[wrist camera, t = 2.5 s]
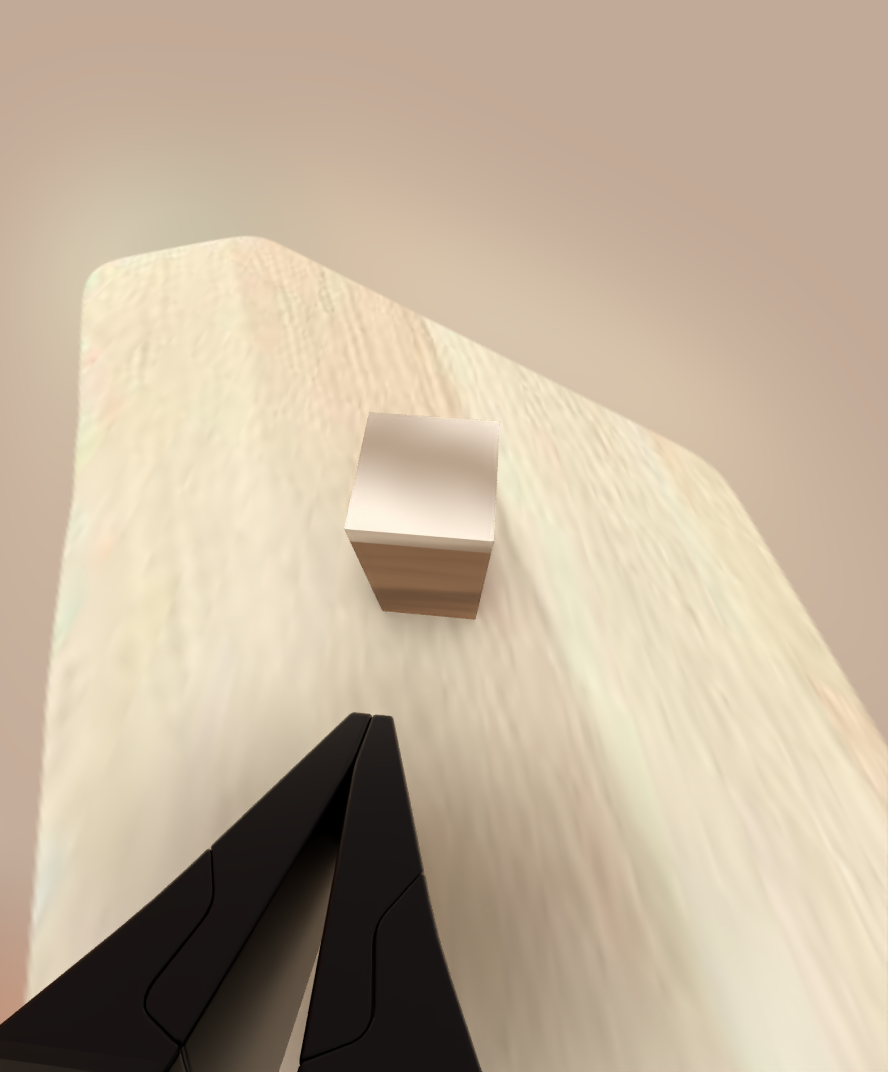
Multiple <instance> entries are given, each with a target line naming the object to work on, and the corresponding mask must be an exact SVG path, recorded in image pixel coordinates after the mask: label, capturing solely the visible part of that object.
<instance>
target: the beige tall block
mask: <svg viewBox="0 0 888 1072" xmlns="http://www.w3.org/2000/svg"><path fill="white" fill-rule="evenodd" d="M499 427H500V422H498V421H484V420H470V419H456V418H442V417H428V416H414V415H401V414H387V413H373V412H369V415H368V419H367V424H366V429H365V434H364V438H363V443H362V448H361V452H360V457H359V462H358V466H357V471H356V476H355V481H354V485H353V490H352V495H351V499H350V504H349V509H348V514H347V518H346V523H345V528H344V529H345V532H346V534H347V536H348V538H349V540H350V542H351V544H352V546H353V549H354V551H355V553H356V555H357V557H358V559H359V561H360V564H361V566H362V568H363V570H364V572H365V574H366V576H367V579H368V581H369V583H370V585H371V587H372V589H373V591H374V593H375V596H376V598H377V600H378V602H379V604H380V606H381V608H382V611H390V612H400V613H411V614H422V615H433V616H444V617H455V618H466V619H475V618H476V614H477V610H478V605H479V601H480V597H481V593H482V589H483V584H484V580H485V576H486V572H487V568H488V563H489V559H490V555H491V551H492V547H493V542H494V527H495V507H496V487H497V467H498V447H499Z"/></svg>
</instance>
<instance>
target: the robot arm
mask: <svg viewBox="0 0 888 1072" xmlns="http://www.w3.org/2000/svg"><path fill="white" fill-rule="evenodd" d="M321 939H322V940H321ZM320 943H321V945H320ZM319 946H320V951H319V956H318V962H317V967H316V972H315V978H314V983H313V989H312V994H311V1000H310V1005H309V1011H308V1016H307V1021H306V1027H305V1032H304V1038H303V1043H302V1049H301V1054H300V1066H299V1068H298V1071H297V1072H482V1070H481V1067H480V1064H479V1061H478V1058H477V1055H476V1052H475V1049H474V1046H473V1043H472V1040H471V1037H470V1034H469V1031H468V1028H467V1025H466V1022H465V1019H464V1016H463V1013H462V1010H461V1007H460V1004H459V1001H458V998H457V994H456V991H455V988H454V985H453V982H452V979H451V976H450V973H449V969H448V966H447V963H446V959H445V956H444V952H443V949H442V946H441V942H440V939H439V935H438V931H437V927H436V923H435V918H434V914H433V910H432V906H431V901H430V897H429V892H428V887H427V882H426V877H425V875H424V868H423V863H422V858H421V853H420V848H419V843H418V838H417V833H416V828H415V823H414V818H413V813H412V808H411V803H410V798H409V793H408V788H407V784H406V779H405V774H404V769H403V764H402V759H401V754H400V749H399V744H398V739H397V734H396V729H395V724H394V719H393V717H391V716H385V715H374V716H373V717H372V716H371V715H370V714H365V713H355V712H354V713H351V714H350V715H348V716H347V717H346V718H345V719H344V720H343V721H342V722H341V723H340V724H339V725H338V726H337V727H336V728H335V729H334V730H333V731H332V732H331V733H329V734H328V735H327V736H326V737H325V738H324V739H323V740H322V741H321V742H320V743H319V744H318V745H317V746H316V747H315V748H314V749H313V750H312V751H310V752H309V753H308V754H307V755H306V756H305V757H304V758H303V759H302V760H301V761H300V762H299V763H298V764H297V765H296V766H295V767H294V768H293V769H292V770H290V771H289V772H288V773H287V774H286V775H285V776H284V777H283V778H282V779H281V780H280V781H279V782H278V783H277V784H276V785H275V786H274V787H273V788H272V789H270V790H269V791H268V792H267V793H266V794H265V795H264V796H263V797H262V798H261V799H260V800H259V801H258V802H257V803H256V804H255V805H254V806H253V807H251V808H250V809H249V810H248V811H247V812H246V813H245V814H244V815H243V816H242V817H241V818H240V819H239V820H238V821H237V822H236V823H235V824H234V825H233V826H231V827H230V828H229V829H228V830H227V831H226V832H225V833H224V834H223V835H222V836H221V837H220V838H219V839H218V840H217V841H216V842H215V843H214V844H213V845H212V846H211V850H210V849H207V850H206V851H205V852H204V853H203V854H202V855H201V856H200V857H199V858H197V859H196V860H195V861H194V862H193V863H192V864H191V865H190V866H189V867H188V868H187V869H186V870H185V871H184V872H183V873H181V874H180V875H179V876H178V877H177V878H176V879H175V880H174V881H173V882H172V883H170V884H169V885H168V886H167V887H166V888H165V889H164V890H163V891H162V892H161V893H159V894H158V895H157V896H156V897H155V898H154V899H153V900H152V901H150V902H149V903H148V904H147V905H146V906H144V907H143V908H142V909H141V910H140V911H139V912H137V913H136V914H135V915H134V916H133V917H131V918H130V919H129V920H128V921H127V922H125V923H124V924H123V925H122V926H121V927H120V928H118V929H117V930H116V931H115V932H114V933H112V934H111V935H110V936H109V937H107V938H106V939H105V940H104V941H103V942H101V943H100V944H99V945H98V946H96V947H95V948H94V949H93V950H91V951H90V952H89V953H88V954H87V955H85V956H84V957H83V958H82V959H80V960H79V961H78V962H77V963H76V964H74V965H73V966H72V967H71V968H69V969H68V970H67V971H66V972H64V973H63V974H62V975H61V976H60V977H58V978H57V979H56V980H55V981H53V982H52V983H51V984H50V985H48V986H47V987H46V988H45V989H44V990H42V991H41V992H40V993H39V994H37V995H36V996H35V997H34V998H32V999H31V1000H30V1001H29V1002H28V1003H26V1004H25V1005H24V1006H23V1007H21V1008H20V1009H19V1010H18V1011H17V1012H15V1013H14V1014H13V1015H12V1016H10V1017H9V1018H8V1019H7V1020H6V1021H4V1022H3V1023H2V1024H0V1072H279V1069H280V1066H281V1063H282V1060H283V1057H284V1054H285V1051H286V1048H287V1045H288V1042H289V1038H290V1035H291V1032H292V1029H293V1026H294V1023H295V1020H296V1017H297V1014H298V1011H299V1008H300V1004H301V1001H302V998H303V995H304V992H305V989H306V986H307V983H308V980H309V977H310V973H311V970H312V967H313V964H314V961H315V958H316V955H317V952H318V949H319Z"/></svg>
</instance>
